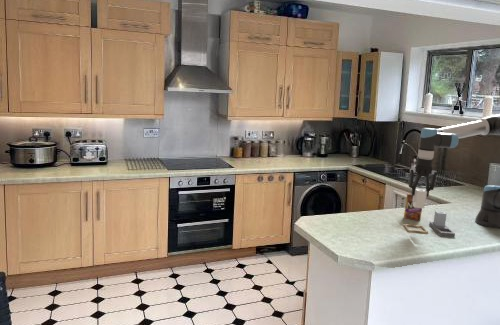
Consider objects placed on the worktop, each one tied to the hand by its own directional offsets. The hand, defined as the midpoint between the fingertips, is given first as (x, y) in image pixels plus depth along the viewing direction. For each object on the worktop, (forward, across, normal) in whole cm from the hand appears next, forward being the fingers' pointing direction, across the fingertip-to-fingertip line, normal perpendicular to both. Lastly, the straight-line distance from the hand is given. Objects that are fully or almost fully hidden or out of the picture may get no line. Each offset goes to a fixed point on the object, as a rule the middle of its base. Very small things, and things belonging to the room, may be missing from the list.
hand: (418, 201), depth 218 cm
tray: (+16, 0, 0) cm, 16 cm away
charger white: (+3, 0, 0) cm, 3 cm away
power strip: (+16, -14, -6) cm, 22 cm away
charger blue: (+15, -14, -6) cm, 22 cm away
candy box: (+16, -4, -21) cm, 27 cm away
